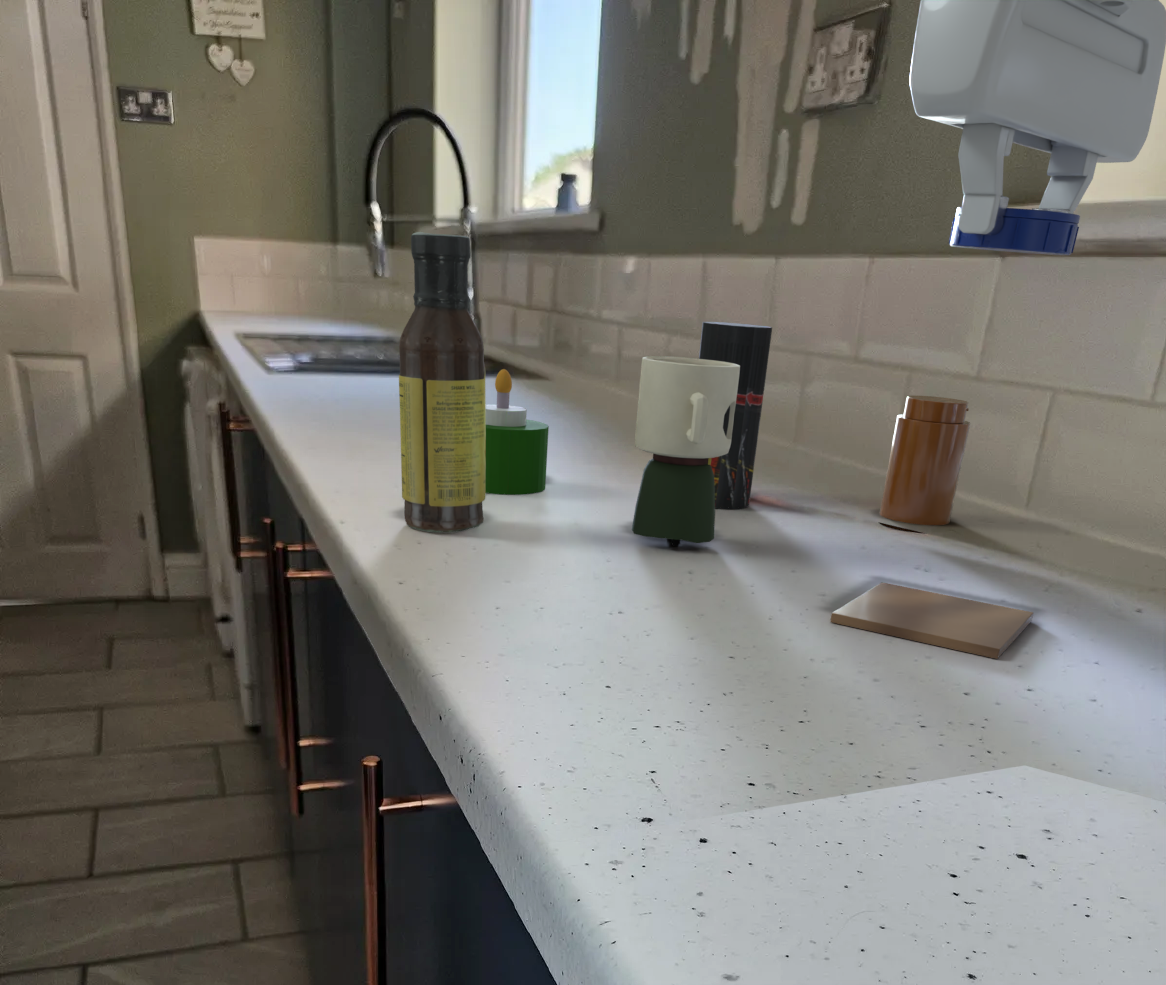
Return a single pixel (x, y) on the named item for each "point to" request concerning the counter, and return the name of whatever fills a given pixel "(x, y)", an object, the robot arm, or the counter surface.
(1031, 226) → the jar lid
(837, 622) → the coaster
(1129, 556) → the counter surface
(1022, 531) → the counter surface
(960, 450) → the jar
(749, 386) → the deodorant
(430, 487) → the sauce bottle
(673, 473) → the character mug
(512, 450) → the candle
